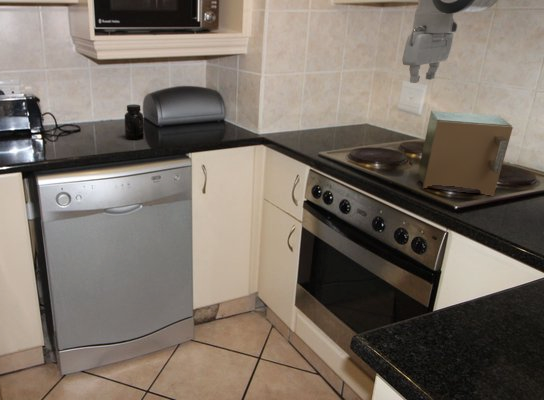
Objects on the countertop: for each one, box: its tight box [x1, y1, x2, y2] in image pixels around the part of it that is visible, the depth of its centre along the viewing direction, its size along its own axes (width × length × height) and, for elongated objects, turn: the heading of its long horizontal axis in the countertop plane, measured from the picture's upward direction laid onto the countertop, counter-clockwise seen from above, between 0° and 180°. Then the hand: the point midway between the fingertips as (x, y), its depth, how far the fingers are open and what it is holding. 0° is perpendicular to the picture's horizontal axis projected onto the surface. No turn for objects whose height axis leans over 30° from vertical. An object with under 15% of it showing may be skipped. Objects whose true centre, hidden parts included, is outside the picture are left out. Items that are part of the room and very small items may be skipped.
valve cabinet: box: [417, 110, 513, 187], centre depth 131 cm, size 12×17×19 cm
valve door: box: [422, 121, 514, 197], centre depth 123 cm, size 6×17×19 cm, turn 71°
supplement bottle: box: [124, 104, 145, 141], centre depth 174 cm, size 7×7×12 cm
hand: (422, 80), depth 127 cm, fingers open, 8 cm apart
